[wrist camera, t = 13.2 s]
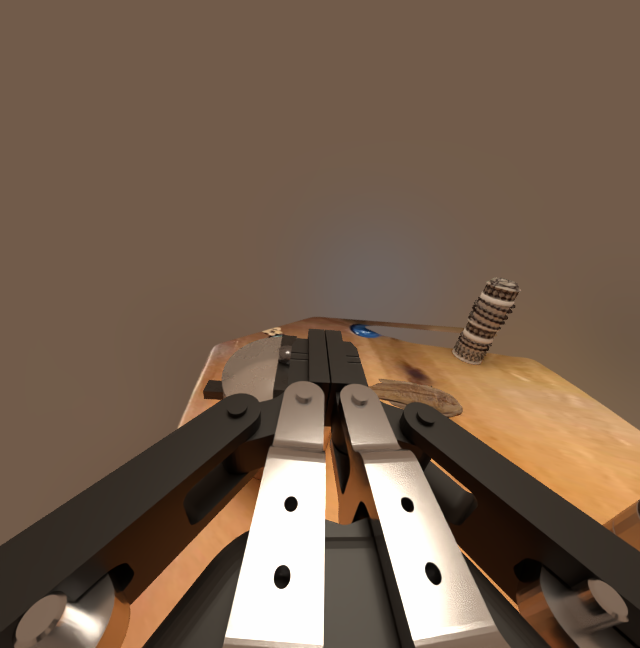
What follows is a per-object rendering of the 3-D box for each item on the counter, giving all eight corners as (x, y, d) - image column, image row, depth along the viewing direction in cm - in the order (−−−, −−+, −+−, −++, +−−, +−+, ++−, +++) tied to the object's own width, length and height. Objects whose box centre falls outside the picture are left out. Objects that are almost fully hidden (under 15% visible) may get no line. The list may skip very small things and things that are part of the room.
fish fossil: (350, 403, 51) (351, 398, 51) (348, 375, 61) (348, 371, 60) (468, 419, 51) (470, 415, 51) (447, 389, 61) (449, 385, 60)
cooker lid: (350, 433, 30) (359, 405, 27) (202, 425, 28) (196, 395, 25) (336, 346, 45) (341, 323, 42) (240, 337, 43) (238, 313, 41)
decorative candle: (484, 369, 70) (532, 289, 58) (451, 358, 73) (489, 280, 61) (481, 354, 77) (522, 281, 66) (450, 344, 80) (484, 273, 69)
